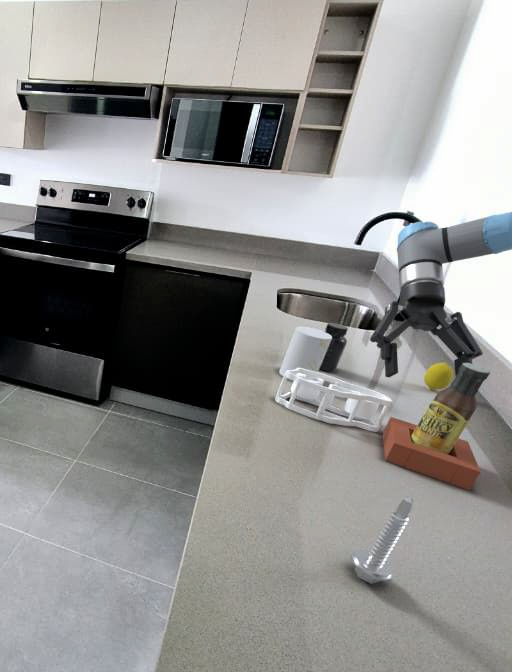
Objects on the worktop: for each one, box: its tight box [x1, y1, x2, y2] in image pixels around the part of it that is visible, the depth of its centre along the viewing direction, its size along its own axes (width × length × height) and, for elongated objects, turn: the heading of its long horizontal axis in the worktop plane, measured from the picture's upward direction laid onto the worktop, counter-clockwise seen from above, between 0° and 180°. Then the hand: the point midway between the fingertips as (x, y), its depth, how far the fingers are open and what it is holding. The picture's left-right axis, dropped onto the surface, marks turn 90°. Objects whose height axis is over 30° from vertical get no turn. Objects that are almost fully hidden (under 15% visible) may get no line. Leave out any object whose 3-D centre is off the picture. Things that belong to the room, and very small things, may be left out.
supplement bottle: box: [319, 322, 349, 373], centre depth 134 cm, size 7×7×12 cm
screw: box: [350, 496, 415, 585], centre depth 63 cm, size 13×5×5 cm
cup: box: [279, 325, 332, 382], centre depth 124 cm, size 8×8×12 cm
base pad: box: [382, 416, 482, 491], centre depth 95 cm, size 13×13×4 cm
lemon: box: [423, 362, 454, 391], centre depth 130 cm, size 6×6×8 cm
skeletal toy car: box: [274, 368, 394, 433], centre depth 108 cm, size 20×11×7 cm, turn 53°
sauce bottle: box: [411, 363, 491, 454], centre depth 92 cm, size 6×6×20 cm
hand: (427, 381), depth 99 cm, fingers open, 13 cm apart
